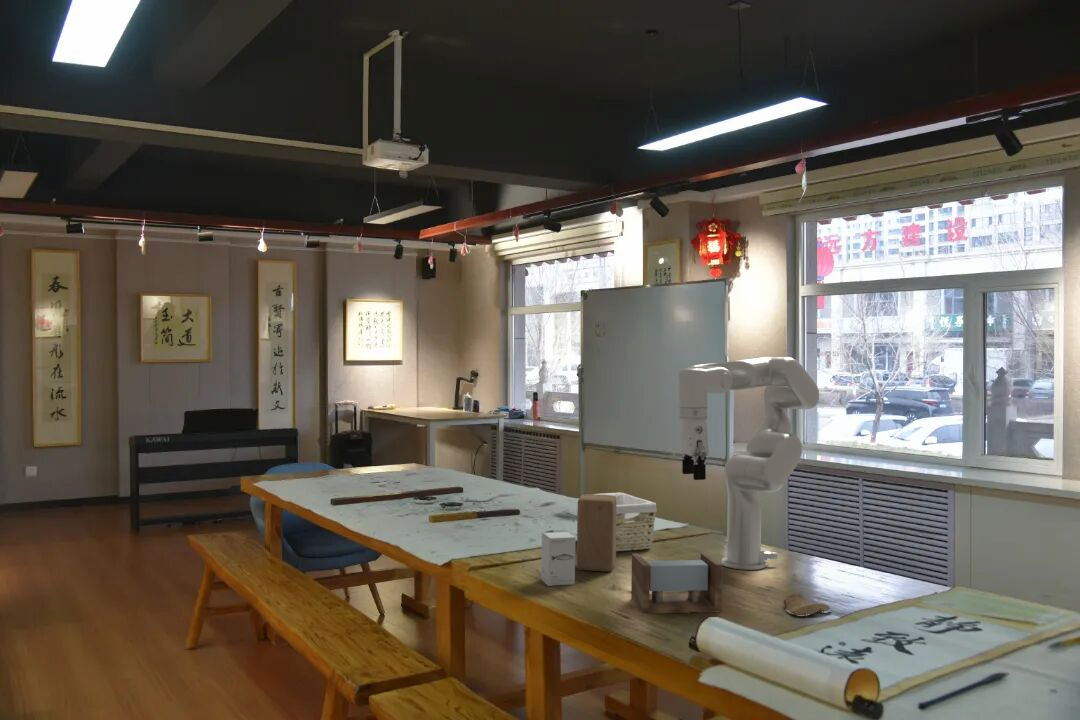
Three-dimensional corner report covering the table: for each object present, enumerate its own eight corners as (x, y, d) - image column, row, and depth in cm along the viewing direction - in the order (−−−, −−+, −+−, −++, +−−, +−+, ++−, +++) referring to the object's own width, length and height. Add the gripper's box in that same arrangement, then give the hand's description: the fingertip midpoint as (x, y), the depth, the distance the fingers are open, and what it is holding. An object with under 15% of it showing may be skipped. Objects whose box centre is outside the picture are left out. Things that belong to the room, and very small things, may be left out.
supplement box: (548, 586, 224) (548, 538, 224) (540, 579, 231) (541, 532, 231) (575, 585, 226) (576, 536, 226) (567, 577, 233) (567, 531, 233)
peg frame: (706, 597, 216) (706, 552, 216) (721, 611, 204) (722, 564, 204) (631, 599, 214) (631, 553, 214) (642, 613, 202) (642, 565, 202)
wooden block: (612, 572, 239) (612, 500, 239) (576, 570, 241) (577, 498, 241) (616, 564, 249) (617, 494, 249) (581, 562, 251) (582, 493, 251)
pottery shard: (834, 620, 204) (805, 599, 213) (836, 603, 203) (807, 583, 212) (798, 628, 200) (770, 606, 209) (800, 611, 199) (772, 590, 208)
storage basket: (577, 538, 284) (578, 493, 284) (621, 535, 290) (622, 491, 290) (611, 554, 262) (612, 505, 262) (658, 550, 268) (658, 502, 268)
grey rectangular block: (701, 584, 212) (701, 560, 212) (707, 590, 207) (708, 565, 207) (645, 585, 211) (645, 560, 211) (650, 591, 206) (650, 565, 206)
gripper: (717, 416, 227) (717, 481, 227) (696, 410, 244) (697, 471, 244) (689, 417, 225) (690, 482, 226) (670, 411, 243) (671, 472, 243)
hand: (693, 476), depth 235 cm, fingers open, 9 cm apart
